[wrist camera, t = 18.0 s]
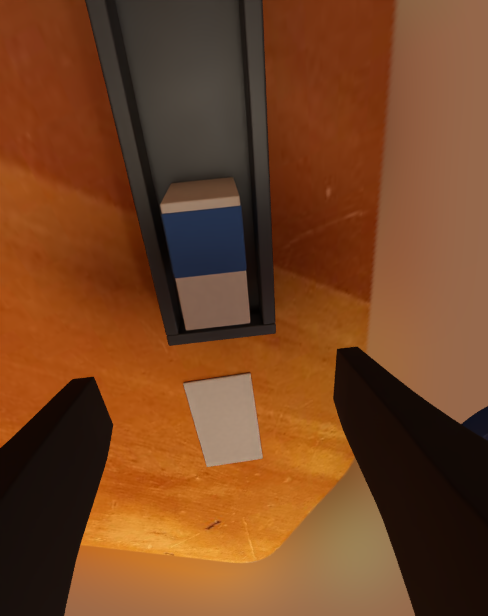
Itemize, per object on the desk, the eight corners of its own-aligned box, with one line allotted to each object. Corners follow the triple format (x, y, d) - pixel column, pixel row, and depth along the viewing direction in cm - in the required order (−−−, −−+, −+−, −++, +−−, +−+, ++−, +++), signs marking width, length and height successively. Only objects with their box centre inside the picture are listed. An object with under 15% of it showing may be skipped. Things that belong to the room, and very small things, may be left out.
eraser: (244, 284, 17) (251, 324, 14) (189, 290, 17) (185, 331, 14) (234, 176, 14) (240, 195, 11) (169, 183, 14) (158, 204, 11)
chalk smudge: (262, 457, 24) (262, 458, 24) (207, 465, 24) (207, 466, 24) (250, 372, 20) (250, 373, 20) (183, 382, 20) (183, 383, 20)
